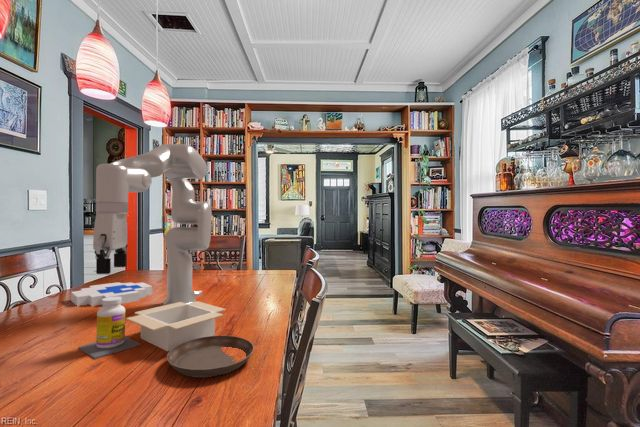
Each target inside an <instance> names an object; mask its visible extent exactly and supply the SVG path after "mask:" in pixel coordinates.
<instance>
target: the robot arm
mask: <svg viewBox="0 0 640 427" xmlns="http://www.w3.org/2000/svg"><path fill="white" fill-rule="evenodd" d="M207 172H208V165H207V163H206V161H205V159H204V158H203V157H202V156H201V154H200V153H199V152H198V150H197V149H195V148H194V147H193V146H191V145H189V144H187V143H186V144H185V143H183V144H182V143H181V144H180V143H165V144H164V143H163V144H160V145H158V146H156V147H155V148H152V149H151V150H149V151H147V152H145V153H142V154H138V155H134V156H131V157H125V158H122V159H118V160H115V161H112V162H111V163H101V164H99V165H97V166H96V171H95V174H96V175H95V180H96V182H95V185H96V186H95V214H96V215H95V221H94V225H93V240H92V242H93V243H92V248H93V250H94V252H93V253H94V255H95V260H96V261H95V262H96V263H95V264H96V265H95V268H96V269H95V271H96V275H106V274H107V275H108V274H111V271H112V270H111V265H112V264H111V261H112V260H111V258H110V255H111V254H112V251H114V252H115V253H113V267H114V268H126V267H127V264H128V263H127V259H128V258H127V255H128V254H127V253H128V249H127V248H128V240H129V237H128V221H127V220H128V219H127V215H129V193H142V192H146V191H147V190H148V189H150V187H151V186H152V180H153V178H156V177H160V176H162V175H163V174H164V175H165V177H166V178H167V180H168V181H169V183H170V186H171V188H172V199H171V210H170V211H171V212H170V214H171V215H170V216H171V221H172V222H174V223H175V224H182V225H196V226H197V227H195V226H192V227H191V226H175V227H172V228H169V229H168V230H167V231H166V233H165V236H164V239H165V240H164V242H165V247H166V253H167V255H166V256H167V270H166V272H167V273H166V280H167V281H166V299H165V300H163V301H162V306H164V305H169V304H173V303H178V302H183V303H186V304H189V303H193V302H197V299H196V297H197V296H198V297H199V296H203V291H202V290H198V291H196V290H193V264H194V263H193V258H192V256H191V254H190V253H189V252H188V251H205V250H207V249H209V246H210V243H211V238H212V237H211V234H212V221H213V220H212V219H213V216H212V213H213V212H212V208H211V206H210V205H211V204H209V203H208V202H207V201H196V200H195V188H194V186H193V185H192V183H191V182H190V181H189V180H200V179H201V180H202V179H204V178H205V177H206V176H207V174H208V173H207Z"/></svg>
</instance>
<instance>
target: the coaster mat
mask: <svg viewBox="0 0 640 427" xmlns="http://www.w3.org/2000/svg"><path fill="white" fill-rule="evenodd" d="M139 346H141V343H139V342H138V341H135V340H133V339H131V338H130V337H127V336H126V335H125V340H124V342H123V343H122V344H121V345H119V346H117V347H113V348H107V349H102V348H98V347H97V346H96V341H94V342H91V343H87V344H84V345H80V346H78V349H79V350H80V351H81V352H84V353H85V354H87V355H88V356H90V357H91V358H92V359H94V360H96V359H100V358H105V357H106V356H110V355H113V354H116V353H120V352H123V351H126V350H129V349H132V348H136V347H139Z"/></svg>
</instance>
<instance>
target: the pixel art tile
mask: <svg viewBox="0 0 640 427" xmlns="http://www.w3.org/2000/svg"><path fill="white" fill-rule="evenodd" d="M149 295H153V286H152V285H150V284H148V283H146V282H143V281H141V282H136V283H134V282H122V283H121V282H120V281H118V282H112V283H111V282H109V283H101V284H94V285H89V287H85V288H84V287H83V288H80V290H75V291H71V292H70V302H72V303H73V304H74V305H75V306H76V305H77V306H76V307H81V306H80V305H82V306H87V304H88V305H90V307H96V306H103V305H102V299H104V298H107V297H121V298H122V302H121V305H122V304H128V303H134V302H140V299H144V298H146V297H147V296H149Z"/></svg>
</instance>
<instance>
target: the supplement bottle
mask: <svg viewBox="0 0 640 427" xmlns="http://www.w3.org/2000/svg"><path fill="white" fill-rule="evenodd" d="M121 302H122V298H121V297H107V298H104V299H102V305H101V306H102V307H100V308H99V309H98V310H97V312H96V333H95V334H96V337H95V338H96V339H95V340H96V341H95V342H96V346H97V347H98V348H102V349H107V348H113V347H117V346H119V345H121V344H122V343H123V342H124V340H125V336H126V334H125V331H126V307H125V306H124V305H122V304H121Z"/></svg>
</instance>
